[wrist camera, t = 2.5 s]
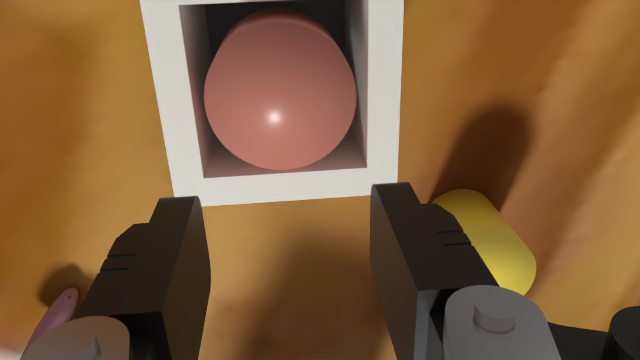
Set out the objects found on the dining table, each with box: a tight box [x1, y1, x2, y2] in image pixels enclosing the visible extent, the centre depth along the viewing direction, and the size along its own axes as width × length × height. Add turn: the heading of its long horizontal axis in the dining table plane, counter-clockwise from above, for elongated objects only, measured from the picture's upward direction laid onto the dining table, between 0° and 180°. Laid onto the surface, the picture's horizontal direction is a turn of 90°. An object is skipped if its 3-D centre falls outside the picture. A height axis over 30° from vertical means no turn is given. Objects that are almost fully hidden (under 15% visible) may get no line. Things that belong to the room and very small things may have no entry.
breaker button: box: [204, 8, 356, 170], centre depth 21 cm, size 6×6×4 cm
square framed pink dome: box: [140, 0, 404, 207], centre depth 24 cm, size 12×15×9 cm
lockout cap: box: [430, 189, 536, 296], centre depth 31 cm, size 5×5×6 cm
